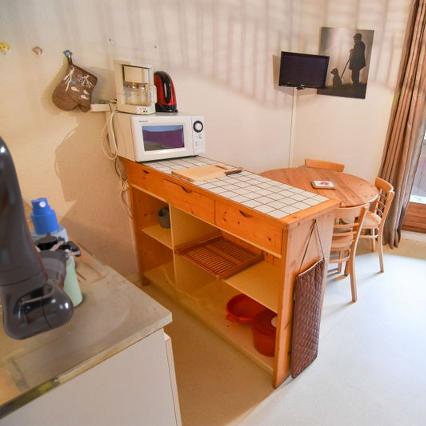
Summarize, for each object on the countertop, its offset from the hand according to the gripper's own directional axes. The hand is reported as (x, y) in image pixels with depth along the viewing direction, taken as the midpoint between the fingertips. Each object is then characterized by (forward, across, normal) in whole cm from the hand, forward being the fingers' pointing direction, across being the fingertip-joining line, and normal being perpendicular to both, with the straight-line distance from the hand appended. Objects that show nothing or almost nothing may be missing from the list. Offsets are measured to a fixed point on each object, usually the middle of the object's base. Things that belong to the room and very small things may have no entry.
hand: (49, 241), depth 86 cm
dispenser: (-3, 0, +19) cm, 19 cm away
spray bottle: (+18, +2, +19) cm, 26 cm away
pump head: (-1, 0, +2) cm, 2 cm away
